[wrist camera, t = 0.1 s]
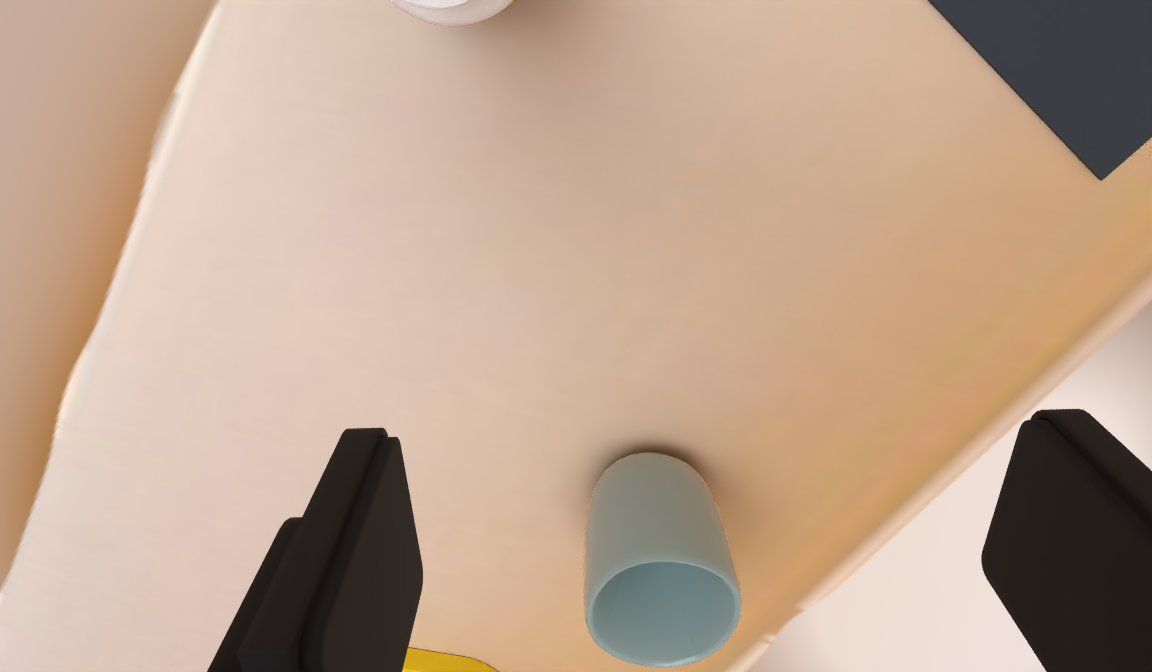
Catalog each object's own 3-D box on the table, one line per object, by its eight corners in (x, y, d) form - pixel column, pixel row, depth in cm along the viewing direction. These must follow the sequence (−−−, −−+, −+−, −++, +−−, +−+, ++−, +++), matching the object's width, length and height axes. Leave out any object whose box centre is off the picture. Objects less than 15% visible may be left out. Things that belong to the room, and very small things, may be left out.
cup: (687, 542, 47) (712, 680, 38) (569, 519, 46) (567, 655, 37) (728, 446, 44) (767, 574, 35) (601, 419, 43) (608, 544, 34)
